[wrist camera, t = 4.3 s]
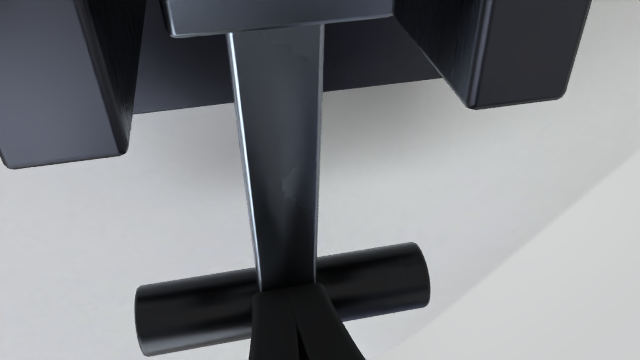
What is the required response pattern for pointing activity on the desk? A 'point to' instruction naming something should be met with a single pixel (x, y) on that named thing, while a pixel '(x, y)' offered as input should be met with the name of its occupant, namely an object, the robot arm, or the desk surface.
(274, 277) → the tap lever
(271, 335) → the robot arm
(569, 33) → the bracket
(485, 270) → the desk surface
